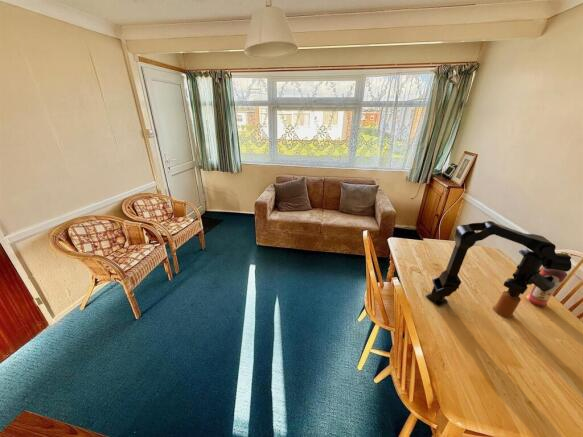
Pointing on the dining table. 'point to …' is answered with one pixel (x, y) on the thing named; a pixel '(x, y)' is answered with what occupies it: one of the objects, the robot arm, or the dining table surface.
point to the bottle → (507, 304)
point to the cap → (515, 295)
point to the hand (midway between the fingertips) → (513, 294)
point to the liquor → (542, 297)
